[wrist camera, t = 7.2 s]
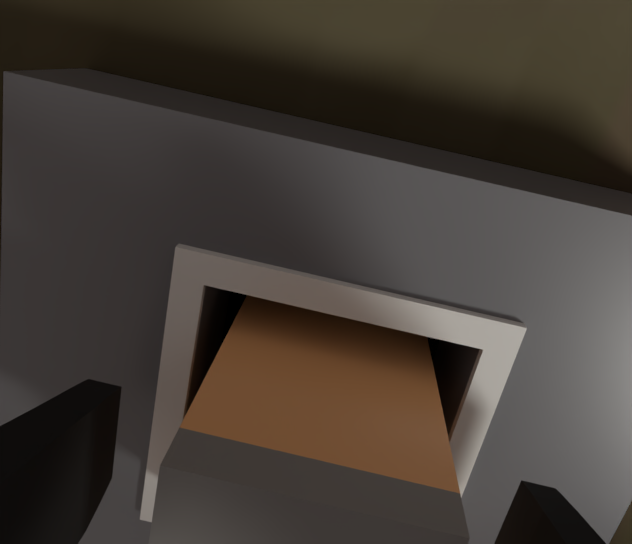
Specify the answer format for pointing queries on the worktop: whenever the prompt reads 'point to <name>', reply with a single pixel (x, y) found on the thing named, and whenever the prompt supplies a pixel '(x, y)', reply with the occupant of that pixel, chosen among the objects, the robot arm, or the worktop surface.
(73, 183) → the socket block
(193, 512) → the plug
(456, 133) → the worktop surface
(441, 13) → the worktop surface
